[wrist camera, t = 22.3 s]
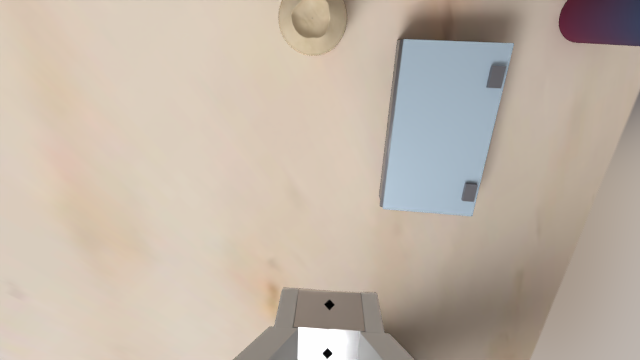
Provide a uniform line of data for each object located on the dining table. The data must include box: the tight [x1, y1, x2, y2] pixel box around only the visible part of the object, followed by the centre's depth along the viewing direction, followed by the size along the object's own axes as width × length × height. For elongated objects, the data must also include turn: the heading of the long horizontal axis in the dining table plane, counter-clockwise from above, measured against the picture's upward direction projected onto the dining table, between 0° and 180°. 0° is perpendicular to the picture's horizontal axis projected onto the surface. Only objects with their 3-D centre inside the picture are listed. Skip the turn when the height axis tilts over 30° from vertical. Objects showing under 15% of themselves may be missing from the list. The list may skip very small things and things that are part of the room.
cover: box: [380, 39, 514, 216], centre depth 34 cm, size 18×10×2 cm, turn 178°
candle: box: [278, 0, 347, 56], centre depth 29 cm, size 6×6×10 cm
